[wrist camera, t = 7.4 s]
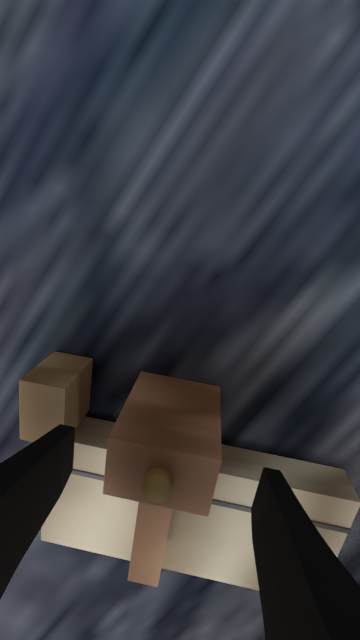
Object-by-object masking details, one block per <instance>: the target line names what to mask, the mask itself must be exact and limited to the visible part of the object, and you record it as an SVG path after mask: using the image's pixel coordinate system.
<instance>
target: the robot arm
mask: <svg viewBox="0 0 360 640" xmlns="http://www.w3.org/2000/svg"><path fill="white" fill-rule="evenodd" d="M74 441H75V427H72V426H67V425H62V424H59V425H58V426H56V427H55V428H53V429H52V430H50V431H49V432H47V433H46V434H44V435H43V436H41V437H40V438H38V439H37V440H36V441H34V442H33V443H31V444H30V445H28V446H27V447H25V448H24V449H22V450H20V451H19V452H17V453H16V454H14V455H13V456H11V457H10V458H8V459H7V460H5V461H3V462H2V463H0V599H1V597H2V595H3V593H4V591H5V589H6V587H7V585H8V583H9V582H10V580H11V578H12V576H13V574H14V572H15V570H16V568H17V567H18V565H19V563H20V561H21V560H22V558H23V556H24V555H25V553H26V551H27V550H28V548H29V547H30V545H31V543H32V542H33V540H34V538H35V537H36V535H37V534H38V532H39V530H40V529H41V527H42V526H43V524H44V522H45V521H46V519H47V517H48V516H49V514H50V513H51V511H52V509H53V508H54V506H55V504H56V503H57V501H58V499H59V498H60V496H61V494H62V492H63V490H64V488H65V486H66V484H67V481H68V479H69V477H70V475H71V473H72V471H73V459H74ZM251 526H252V542H253V550H254V557H255V564H256V571H257V578H258V585H259V592H260V599H261V606H262V612H263V620H264V629H265V640H360V586H359V584H358V583H357V582H356V581H355V579H354V578H353V577H352V576H351V575H350V573H349V572H348V571H347V570H346V568H345V567H344V566H343V564H342V563H341V562H340V561H339V559H338V558H337V557H336V555H335V554H334V553H333V551H332V550H331V548H330V547H329V546H328V544H327V543H326V541H325V540H324V539H323V537H322V536H321V534H320V533H319V531H318V530H317V528H316V527H315V525H314V524H313V522H312V521H311V519H310V518H309V516H308V515H307V513H306V512H305V510H304V508H303V507H302V505H301V504H300V502H299V500H298V499H297V497H296V495H295V494H294V492H293V491H292V489H291V487H290V486H289V484H288V482H287V481H286V479H285V477H284V476H283V474H282V472H281V471H280V470H276V469H271V468H267V467H263V470H262V473H261V477H260V480H259V484H258V487H257V490H256V494H255V497H254V500H253V504H252V507H251Z"/></svg>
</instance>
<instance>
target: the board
mask: <svg viewBox="0 0 360 640" xmlns="http://www.w3.org/2000/svg"><path fill="white" fill-rule="evenodd" d="M114 424H115V422H110V421H106V420H101V419H96V418H91V417H86V416H84V418H83V419H82V421H81V422H80V424H79V425H78V427H77V428H76V430H75V441H74V459H73V471H72V473H71V475H70V477H69V479H68V481H67V484H66V486H65V488H64V490H63V492H62V494H61V496H60V498H59V499H58V501H57V503H56V504H55V506H54V508H53V509H52V511H51V513H50V514H49V516H48V517H47V519H46V521H45V522H44V524H43V526H42V527H41V540H42V541H47V542H51V543H55V544H60V545H64V546H68V547H73V548H77V549H81V550H86V551H90V552H94V553H99V554H103V555H107V556H112V557H116V558H120V559H124V560H129V561H130V560H131V553H132V546H133V539H134V532H135V525H136V518H137V511H138V504H139V502H137V501H133V500H128V499H123V498H119V497H114V496H110V495H105V494H103V485H104V474H105V464H106V453H107V442H108V436H109V434H110V432H111V430H112V428H113V426H114ZM221 448H222V462H221V466H220V470H219V474H218V478H217V482H216V487H215V491H214V495H213V499H212V503H211V507H210V511H209V515H208V517H206V516H201V515H197V514H192V513H188V512H183V511H178V510H174V509H173V510H172V515H171V520H170V526H169V531H168V536H167V541H166V546H165V552H164V557H163V562H162V567H161V568H163V569H168V570H172V571H176V572H181V573H185V574H189V575H194V576H198V577H202V578H207V579H211V580H215V581H220V582H224V583H228V584H233V585H237V586H241V587H245V588H250V589H254V590H258V591H259V585H258V578H257V571H256V564H255V557H254V550H253V542H252V526H251V507H252V504H253V500H254V497H255V494H256V490H257V487H258V484H259V480H260V477H261V473H262V470H263V467H267V468H271V469H276V470H280V471H281V472H282V474H283V476H284V477H285V479H286V481H287V482H288V484H289V486H290V487H291V489H292V491H293V492H294V494H295V495H296V497H297V499H298V500H299V502H300V504H301V505H302V507H303V508H304V510H305V512H306V513H307V515H308V516H309V518H310V519H311V521H312V522H313V524H314V525H315V527H316V528H317V530H318V531H319V533H320V534H321V536H322V537H323V539H324V540H325V541H326V543H327V544H328V546H329V547H330V548H331V550H332V551H333V553H334V554H335V555H336V557H338V554H339V552H340V550H341V548H342V545H343V543H344V541H345V539H346V536H347V534H350V531H351V529H350V527H351V525H352V523H353V521H354V518H355V516H356V514H357V512H358V509H359V507H360V499H359V497H358V495H357V493H356V491H355V489H354V487H353V485H352V483H351V481H350V479H349V477H348V476H347V474H346V472H345V470H344V469H341V468H336V467H331V466H326V465H321V464H316V463H311V462H306V461H301V460H297V459H292V458H287V457H282V456H277V455H272V454H267V453H262V452H257V451H252V450H248V449H243V448H238V447H233V446H228V445H223V444H221Z"/></svg>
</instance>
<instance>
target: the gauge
mask: <svg viewBox="0 0 360 640" xmlns="http://www.w3.org/2000/svg"><path fill="white" fill-rule="evenodd" d="M221 462H222V448H221V397H220V386H215V385H210V384H204V383H199V382H194V381H189V380H184V379H179V378H173V377H168V376H163V375H158V374H153V373H147V372H142V371H141V372H140V374H139V376H138V378H137V380H136V382H135V384H134V386H133V388H132V390H131V392H130V394H129V396H128V398H127V400H126V402H125V404H124V406H123V408H122V410H121V412H120V414H119V416H118V418H117V420H116V422H115V424H114V426H113V428H112V430H111V432H110V434H109V436H108V442H107V453H106V464H105V474H104V485H103V494H105V495H110V496H114V497H119V498H123V499H128V500H133V501H137V502H139V504H138V511H137V518H136V525H135V532H134V539H133V546H132V553H131V560H130V567H129V574H128V581H133V582H137V583H141V584H146V585H150V586H154V587H158V583H159V578H160V572H161V567H162V562H163V557H164V552H165V546H166V541H167V536H168V531H169V526H170V520H171V515H172V510H173V509H174V510H178V511H183V512H188V513H192V514H197V515H201V516H206V517H208V515H209V511H210V507H211V503H212V499H213V495H214V491H215V487H216V482H217V478H218V474H219V470H220V466H221Z"/></svg>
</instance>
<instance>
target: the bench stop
mask: <svg viewBox="0 0 360 640" xmlns="http://www.w3.org/2000/svg"><path fill="white" fill-rule="evenodd" d="M92 365H93V358H88V357H83V356H77V355H72V354H67V353H62V352H57V351H54V352H53V353H52V354H50V355H49V356H48V357H47V358H46V359H44V360H43V361H42V362H41V363H39V364H38V365H37V366H36V367H34V368H33V369H32V370H31V371H29V372H28V373H27V374H26V375H24V376H23V377H22V378H21V379H19V420H20V439H22V440H27V441H31V442H34V441H36V440H37V439H38V438H40V437H41V436H43V435H44V434H46V433H47V432H49V431H50V430H52V429H53V428H55V427H56V426H58V425H59V424H62V425H67V426H72V427H75V430H76V428H77V427H78V425H79V424H80V422H81V421H82V419H83V418H84V416H85V415H86V414H87V412H88V411H89V408H90V394H91V379H92Z"/></svg>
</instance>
